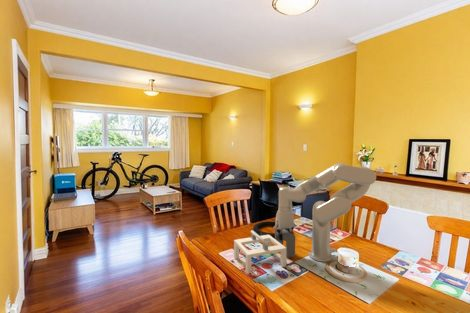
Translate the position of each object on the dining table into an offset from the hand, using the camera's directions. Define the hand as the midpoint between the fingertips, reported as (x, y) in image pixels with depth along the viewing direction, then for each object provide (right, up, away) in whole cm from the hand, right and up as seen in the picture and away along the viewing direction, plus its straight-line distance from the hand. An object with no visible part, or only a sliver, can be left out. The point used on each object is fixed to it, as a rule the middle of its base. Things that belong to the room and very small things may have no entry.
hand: (284, 238), depth 145 cm
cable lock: (-3, -6, +31) cm, 32 cm away
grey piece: (0, -8, +1) cm, 8 cm away
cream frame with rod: (-16, -9, -11) cm, 21 cm away
